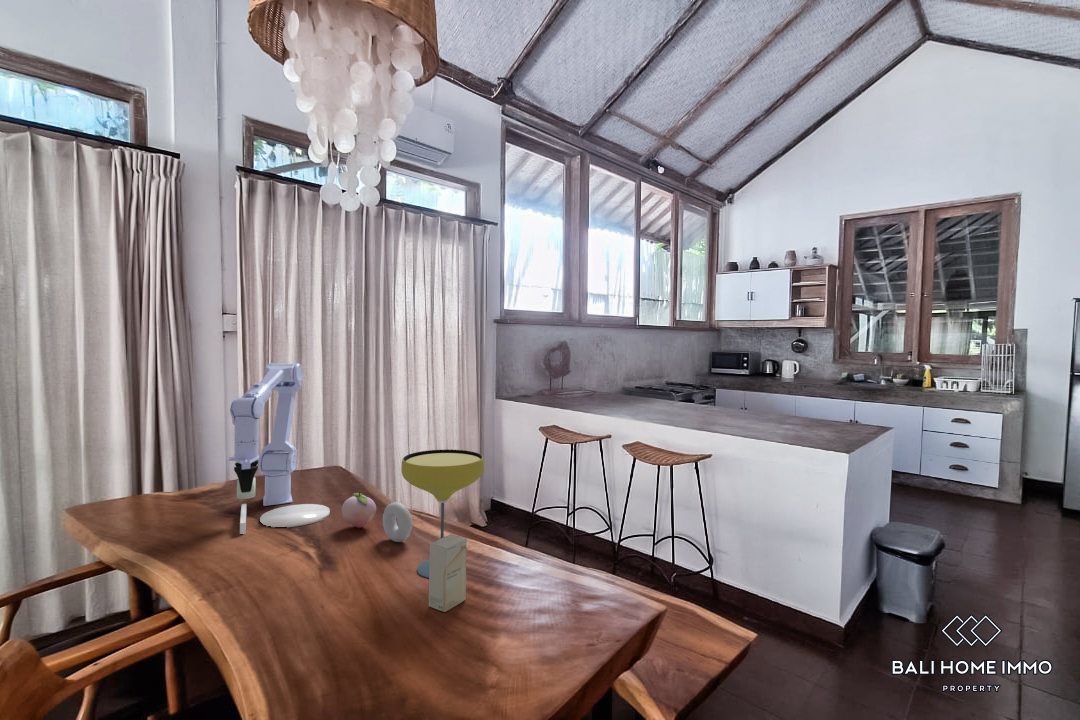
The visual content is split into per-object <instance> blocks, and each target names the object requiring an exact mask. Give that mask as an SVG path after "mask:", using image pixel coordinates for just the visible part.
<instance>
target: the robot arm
mask: <svg viewBox="0 0 1080 720" xmlns="http://www.w3.org/2000/svg"><path fill="white" fill-rule="evenodd" d="M303 370H304V369H303V367H302V364H301V363H298V362H296V363H277V362H275V363H273V362H269V363H268V364H266V366H265V369H264V377H263V378H262V380H261V381H260V382H255V383H254V384H252V385H251V387H250V388H249V389H248V390H247V391H246V392H245V393H244V394H243V395H242V396H241V397H237V398H235V399H233V400H232V402H231V404H230V408H229V413H230V416H231V419H232V424H233V425H234V456H231V457H229V458H228V459H229V460H228V461H229V462H235V463H234V465H235V466H234V468H233V471H234V472H235V474H236V476H237V479H239V483H240V489H241V492H242V493H245V492H251V488H252V483H253V479H254V477H255V475H256V473H257V471H258V469H259V471H260V473H262V475H263V476H264V496H263V497H262V500H263V501H262V503H263V504H262V505H263V506H264V507H267V506H274V505H282V504H290V503H293V501H294V500H293V497H292V494H291V488H292V487H291V485H292V484H291V482H292V478H291V477H292V475H291V474H292V473H293V472H294V471H295V470H296V468H297V466H298V465H297V464H298V450H297V448H296V447H295V446H294V445H293V444H291V443H290V438H291V429H292V422H293V415H294V408H295V401H296V395H297V392H299V391H300V390H301V389H302V386H303V380H304V371H303ZM272 390H274V391H275V392H277V393H278V398H277V405H276V410H275V418H274V425H273V430H272V435H271V436H272V437H271V442H269V443H268V444H267V445H264V446H263V448H262V449H261V454H259V446H260V444H259V443H260V442H259V439H260V437H259V436H260V435H259V434H260V433H259V430H260V429H259V428H260V426H259V425H260V418H261V417H262V415H263V413H264V412H263V411H264V408H265V404H266V403H267V402H268V400H269V399H270V398H271V397H272V396H273V395H272V394H273V391H272Z"/></svg>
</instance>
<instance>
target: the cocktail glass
mask: <svg viewBox="0 0 1080 720" xmlns="http://www.w3.org/2000/svg"><path fill="white" fill-rule="evenodd" d="M400 467H401V469H400V471H401V476H402V478H403V479H405V481H406V482H408V483H409V484H410V485H412V486H413V487H415V488H417V489H420V490H422V491H425V492H427V493H429V494H431V495H433V497H434V499H436V500H437V502H438V503H441V505H440V507H441V508H440V511H441V512H440V539H441V538H443V537H445V535H444V533H445V530H444V529H445V528H444V526H445V523H444V522H445V503H447V502H448V501H449V500H450V498H451V497H452V495H453V494H455V493H457V492H458V491H460V490H462V489H465V488H466V487H468V486H470V485H472V484H474V483H475V482H476V481H478V480H479V479H480V477H481V476H482V475H483V473H484V469H485V461H484V457H483V455H482V454H480V453H479V452H475V451H471V450H463V449H431V450H423V451H417V452H412V453H409V454H406V455H405V456H404V457H403V458H402V459H401V466H400ZM416 571H417V572H416V573H417V574H418V575H419V576H420V577H423V578H426V579H429V558H428V559H426V560H424V561H422V562H420V563H419V564H418V566H417V567H416Z"/></svg>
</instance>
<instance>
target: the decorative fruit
mask: <svg viewBox="0 0 1080 720" xmlns="http://www.w3.org/2000/svg"><path fill="white" fill-rule="evenodd" d="M376 512H377V505H376V503H375V501H374V500H373V499H372V498H370V497H369V496H366V495H364V494H363V493H361V491H358V492H354V493H353V494H352V496H350V497H349V498H347V499H346V500H345V501H344V503H343V504H342V507H341V516H342V518H343V520H344V521H345V522H346V523H347V524H349V525H351V526H354V527H357V528H358V529H361V528H363V527H365V526H366V525H367V524H369V523H370V522H371V521H372V520H373V519H374V517H375V515H376Z"/></svg>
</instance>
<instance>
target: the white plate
mask: <svg viewBox="0 0 1080 720" xmlns="http://www.w3.org/2000/svg"><path fill="white" fill-rule="evenodd" d="M330 511H331V510H330V507H328V506H325V505H322V504H317V503H302V504H291V505H287V506H281V507H277V508H274V509H271V510H269V511H266V512H264V513H263V514H262V515H261V516H260V517H259V521H260V522H261V523H262V524H263V525H262V524H261V523H260V522H259V523H260V524H261V525H262V526H264V525H266V526H265V527H268V526H271V527H270V528H275V527H287V528H296V527H301V526H302V527H303V526H306V525H311V524H314V523H315V524H316V523H318V522H320V521H323V520H325V519H327V518H328V517H329V515H330Z"/></svg>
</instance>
